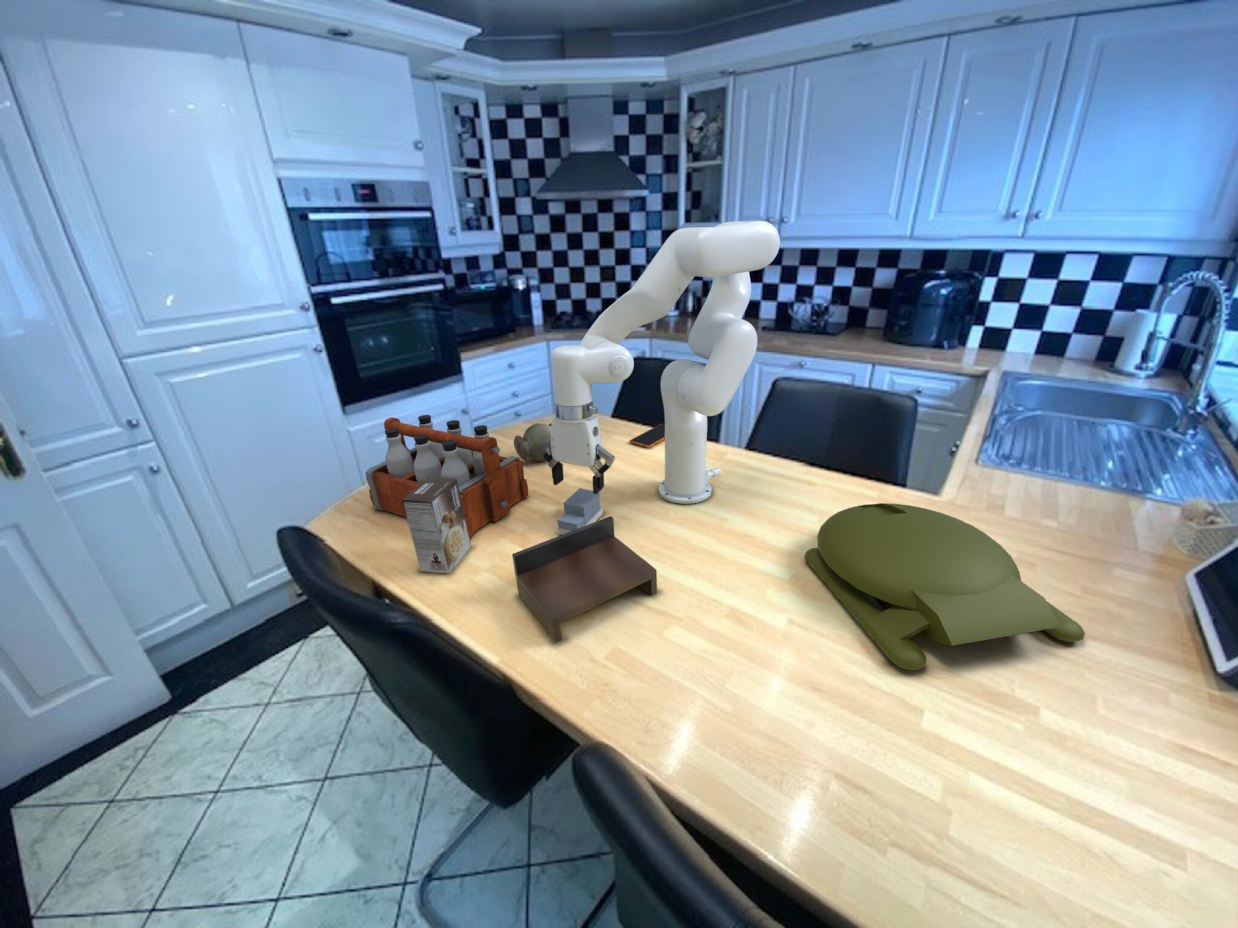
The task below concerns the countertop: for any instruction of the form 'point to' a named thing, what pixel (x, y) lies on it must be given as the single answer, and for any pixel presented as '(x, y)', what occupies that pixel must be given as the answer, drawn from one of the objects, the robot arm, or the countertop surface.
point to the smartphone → (650, 437)
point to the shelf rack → (578, 573)
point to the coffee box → (437, 524)
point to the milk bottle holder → (447, 470)
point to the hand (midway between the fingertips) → (578, 486)
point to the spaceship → (927, 581)
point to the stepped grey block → (579, 511)
